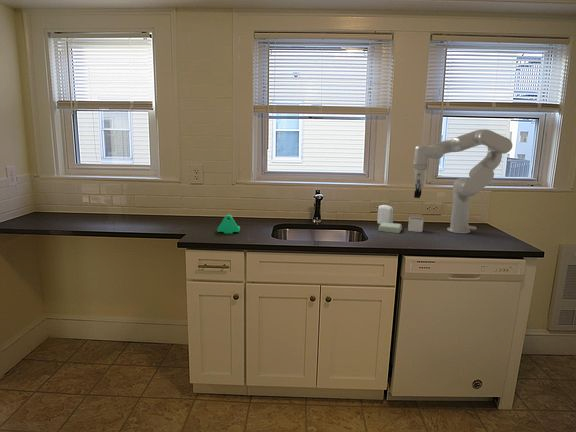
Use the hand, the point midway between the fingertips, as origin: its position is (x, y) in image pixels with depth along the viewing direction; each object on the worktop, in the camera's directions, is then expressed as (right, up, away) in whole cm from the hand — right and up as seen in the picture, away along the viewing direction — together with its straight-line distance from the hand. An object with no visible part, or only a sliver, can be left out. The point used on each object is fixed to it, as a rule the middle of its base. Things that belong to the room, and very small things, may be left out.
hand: (417, 196), depth 237 cm
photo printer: (-15, -17, +19) cm, 29 cm away
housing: (0, -20, +4) cm, 20 cm away
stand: (-15, -20, +4) cm, 25 cm away
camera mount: (-109, -21, -7) cm, 111 cm away
